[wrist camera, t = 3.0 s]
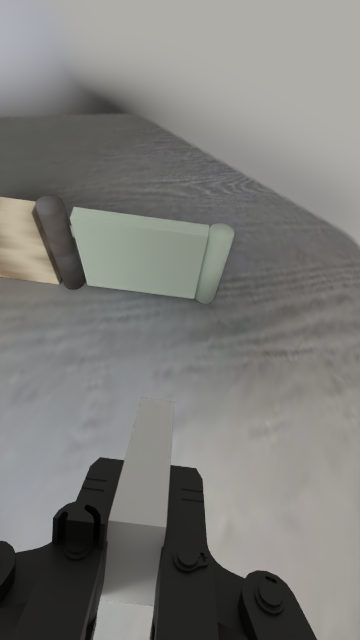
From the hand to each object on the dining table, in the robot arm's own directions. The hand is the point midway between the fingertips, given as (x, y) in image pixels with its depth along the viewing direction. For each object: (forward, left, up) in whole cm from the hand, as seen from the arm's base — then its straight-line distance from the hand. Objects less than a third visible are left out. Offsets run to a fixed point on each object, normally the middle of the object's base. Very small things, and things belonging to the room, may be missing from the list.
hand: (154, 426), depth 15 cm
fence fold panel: (-11, +10, -11) cm, 19 cm away
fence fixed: (-22, +1, -12) cm, 25 cm away
